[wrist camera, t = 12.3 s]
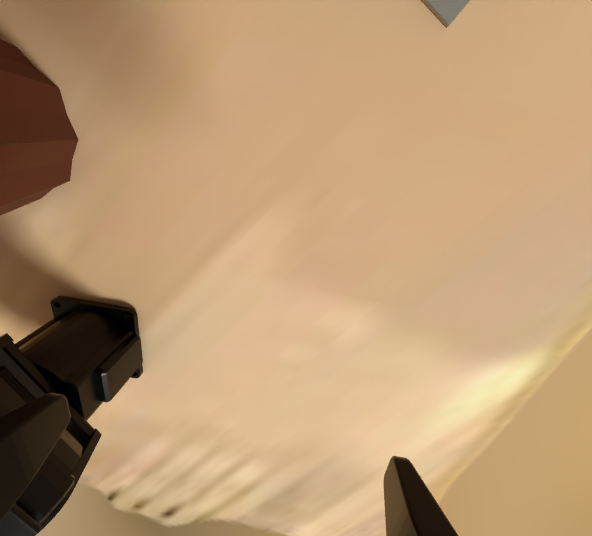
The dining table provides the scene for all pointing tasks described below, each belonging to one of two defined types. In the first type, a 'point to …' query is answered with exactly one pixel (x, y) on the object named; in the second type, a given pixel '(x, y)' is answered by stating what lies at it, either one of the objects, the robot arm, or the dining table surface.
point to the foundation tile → (446, 9)
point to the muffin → (30, 132)
